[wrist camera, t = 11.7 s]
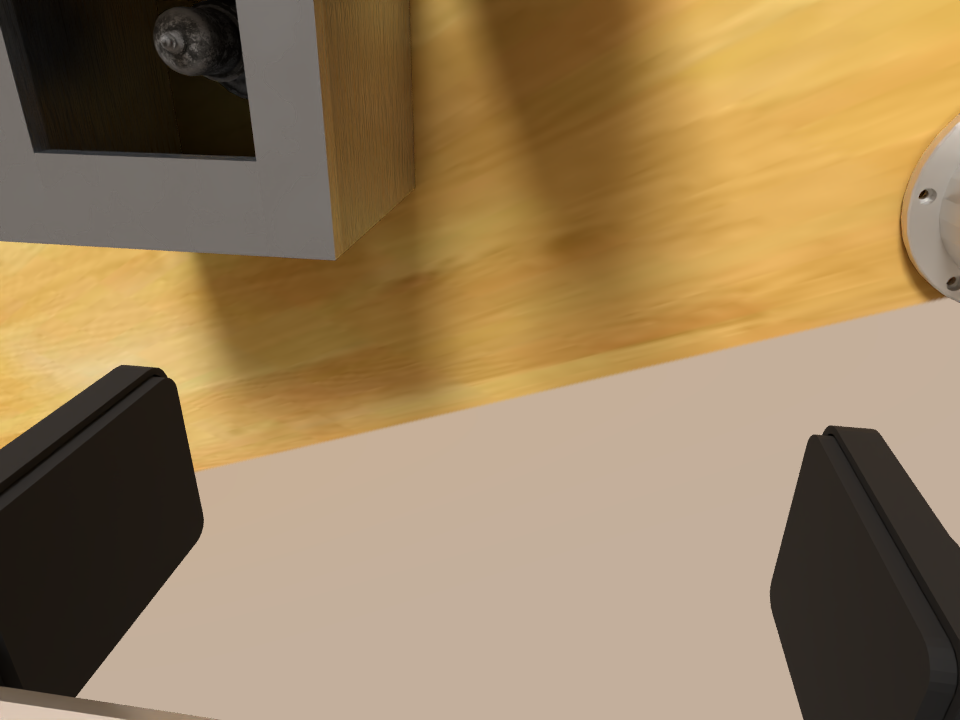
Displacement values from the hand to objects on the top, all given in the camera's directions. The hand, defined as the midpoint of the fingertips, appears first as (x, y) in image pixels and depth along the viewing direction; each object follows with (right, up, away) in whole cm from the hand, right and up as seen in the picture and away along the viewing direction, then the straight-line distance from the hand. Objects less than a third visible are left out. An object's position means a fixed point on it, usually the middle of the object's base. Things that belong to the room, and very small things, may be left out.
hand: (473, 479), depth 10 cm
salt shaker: (-11, +20, +30) cm, 38 cm away
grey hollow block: (-12, +20, +29) cm, 38 cm away
